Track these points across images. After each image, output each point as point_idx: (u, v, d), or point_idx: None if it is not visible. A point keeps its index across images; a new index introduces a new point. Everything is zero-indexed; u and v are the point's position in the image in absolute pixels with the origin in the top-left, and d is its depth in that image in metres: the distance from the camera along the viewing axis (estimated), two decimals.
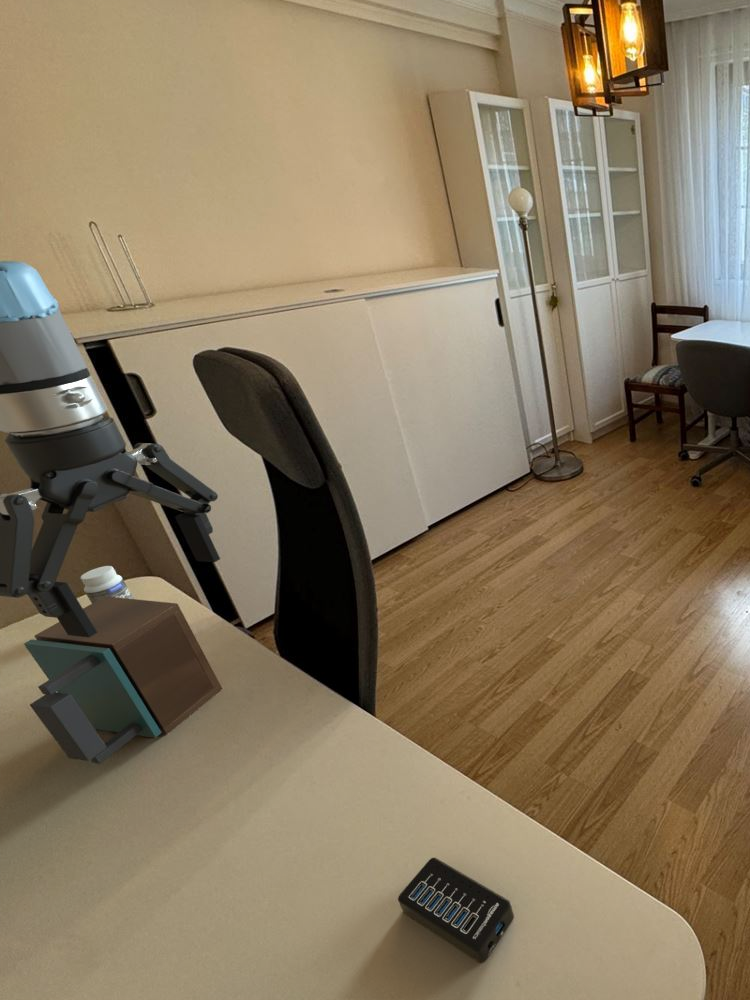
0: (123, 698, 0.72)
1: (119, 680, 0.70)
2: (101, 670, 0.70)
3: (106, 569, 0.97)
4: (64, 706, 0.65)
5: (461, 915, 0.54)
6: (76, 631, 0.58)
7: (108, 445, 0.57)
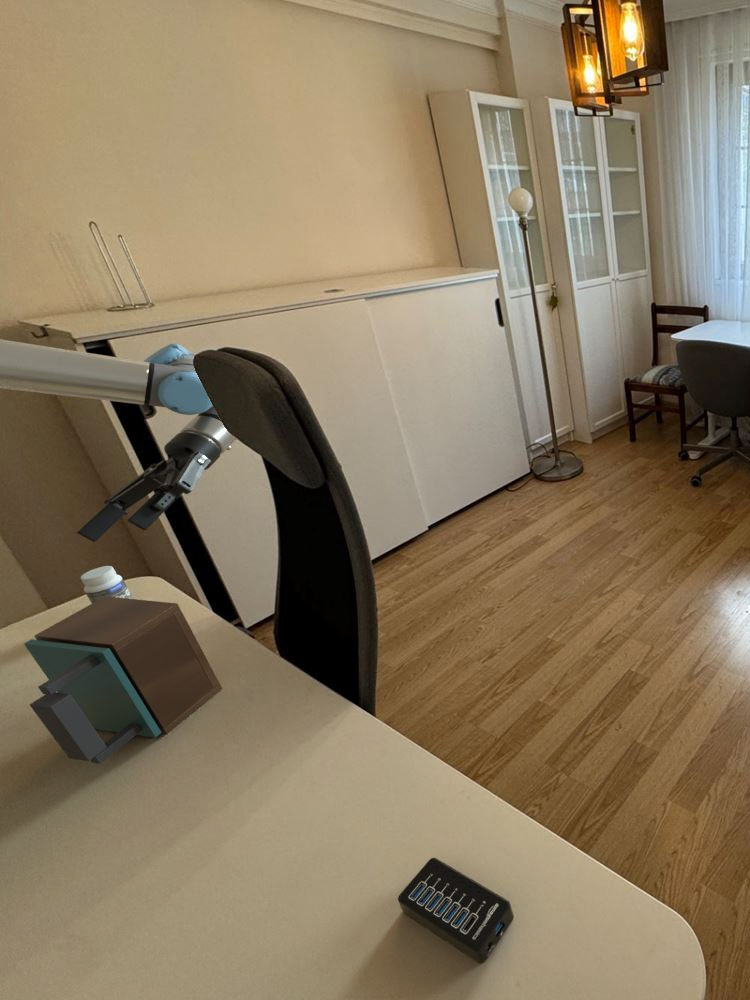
0: (123, 698, 0.72)
1: (119, 680, 0.70)
2: (101, 670, 0.70)
3: (106, 569, 0.97)
4: (64, 706, 0.65)
5: (461, 915, 0.54)
6: (142, 522, 0.93)
7: None
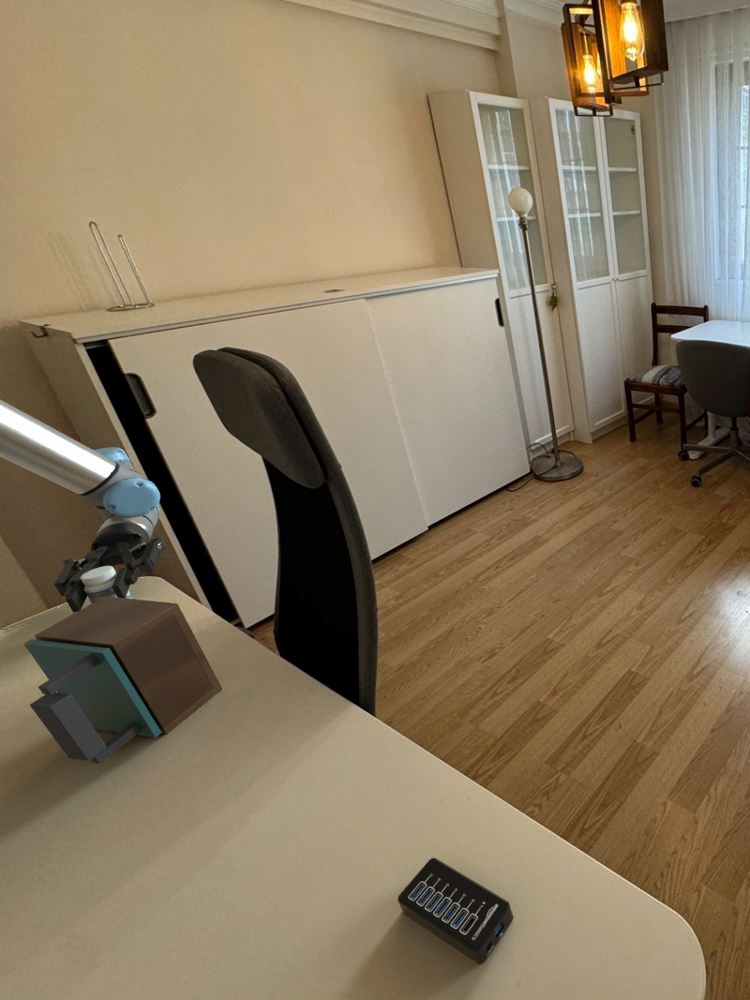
0: (123, 698, 0.72)
1: (119, 680, 0.70)
2: (101, 670, 0.70)
3: (106, 569, 0.97)
4: (64, 706, 0.65)
5: (460, 916, 0.54)
6: (122, 590, 0.95)
7: None
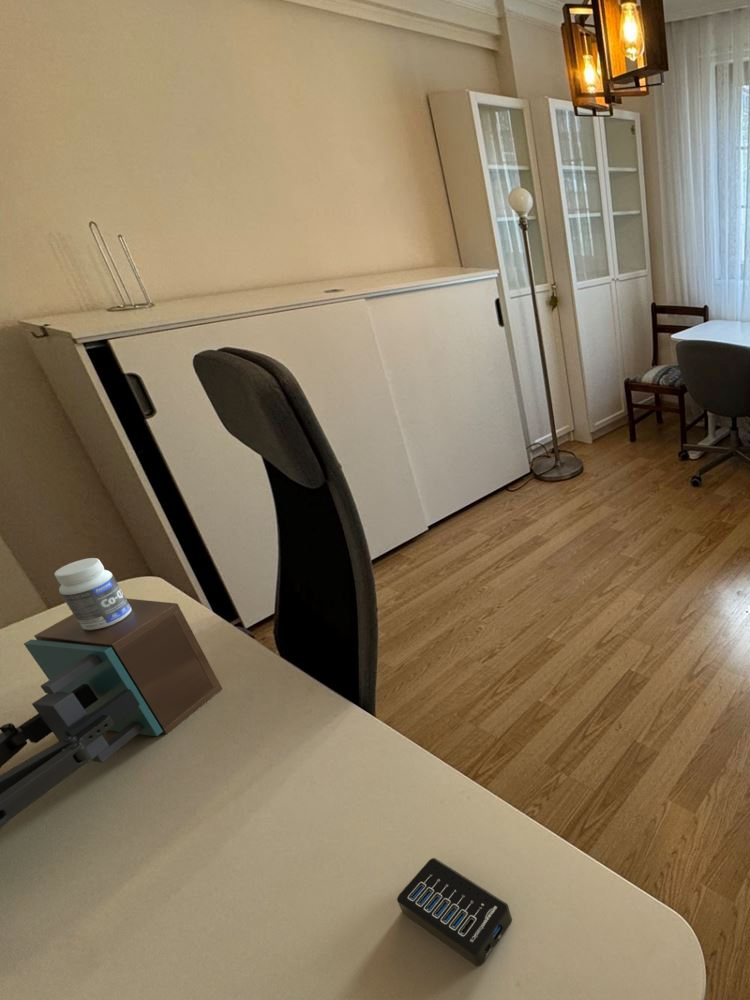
0: None
1: (121, 679, 0.70)
2: (103, 669, 0.70)
3: (90, 562, 0.71)
4: (67, 705, 0.65)
5: (459, 917, 0.54)
6: None
7: None
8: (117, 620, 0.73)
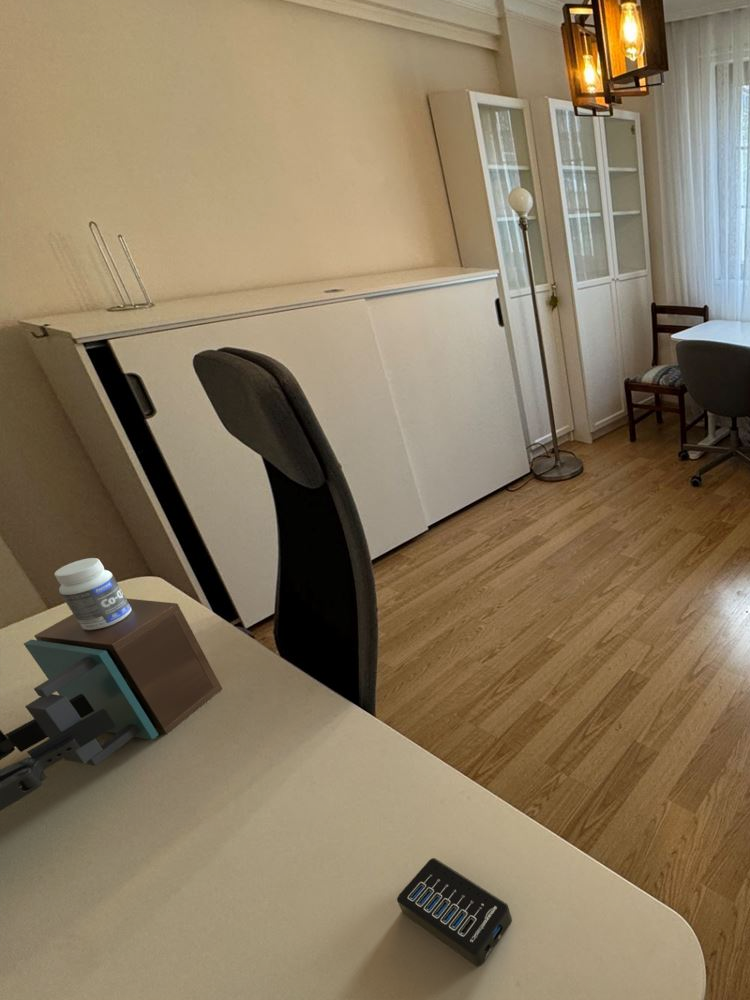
0: (120, 700, 0.71)
1: (116, 683, 0.70)
2: (98, 672, 0.69)
3: (90, 562, 0.71)
4: (59, 708, 0.65)
5: (459, 917, 0.54)
6: None
7: None
8: (117, 620, 0.73)
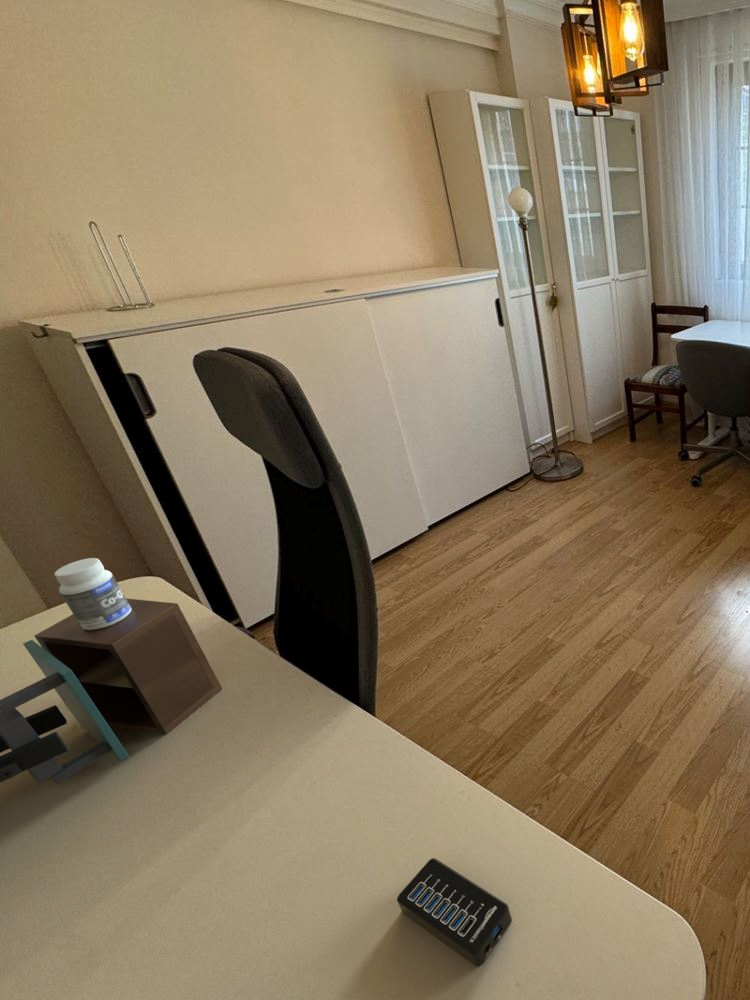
0: (90, 718, 0.69)
1: (81, 703, 0.67)
2: (68, 688, 0.67)
3: (90, 562, 0.71)
4: (14, 727, 0.63)
5: (459, 917, 0.54)
6: None
7: None
8: (117, 620, 0.73)
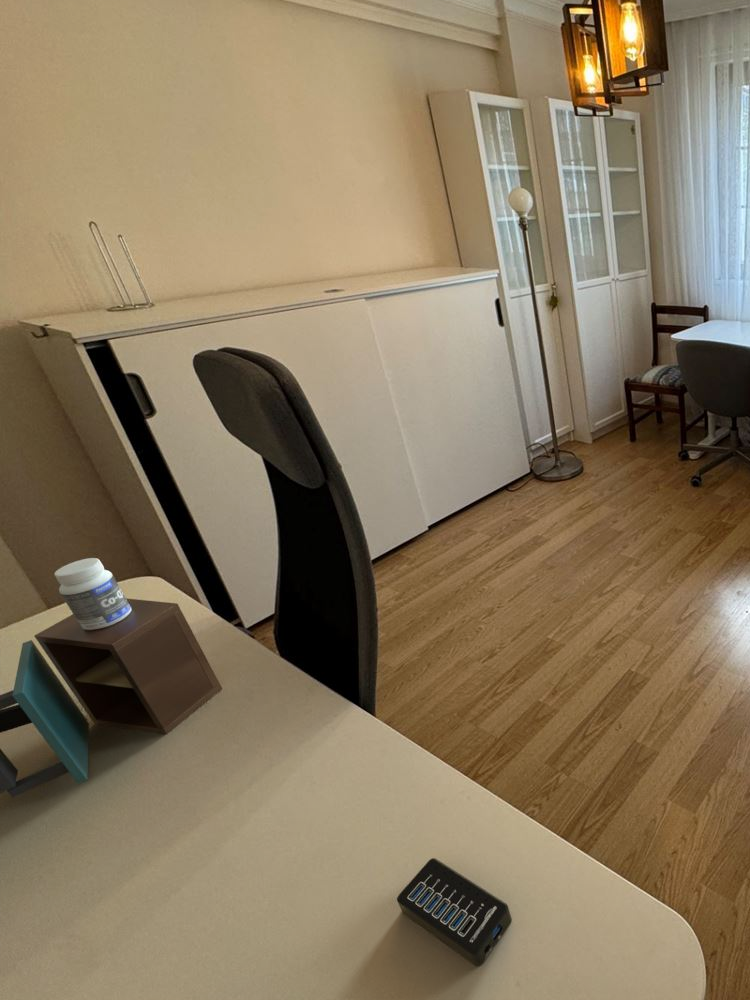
0: None
1: (34, 724, 0.64)
2: None
3: (90, 562, 0.71)
4: None
5: (459, 917, 0.54)
6: None
7: None
8: (117, 620, 0.73)
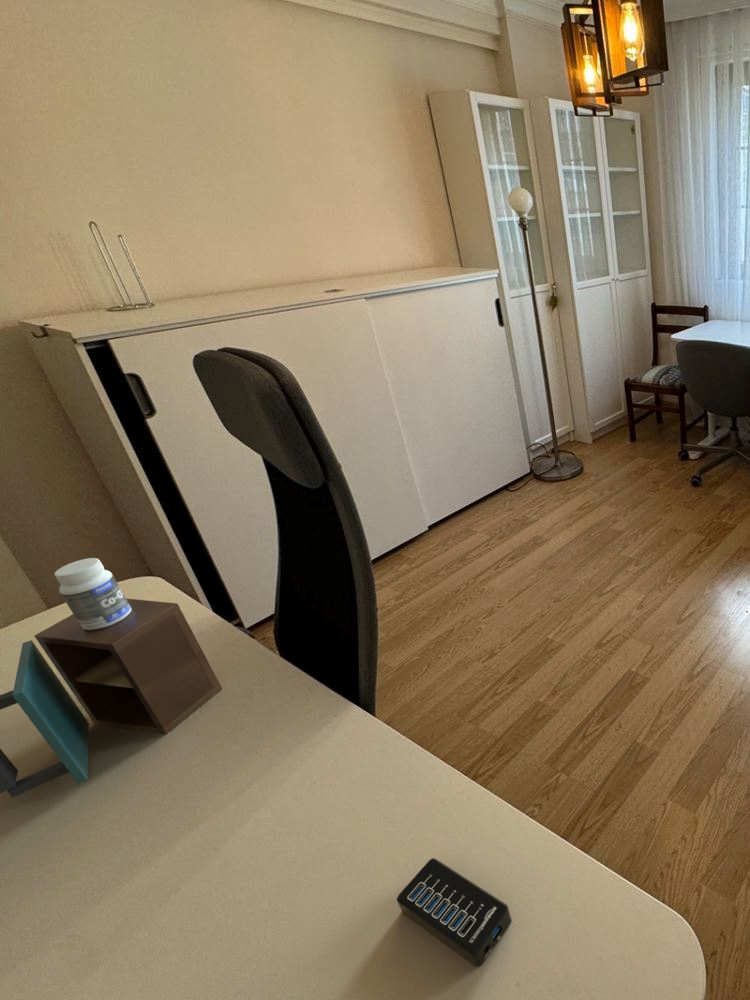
0: None
1: (34, 724, 0.64)
2: None
3: (90, 562, 0.71)
4: None
5: (459, 918, 0.54)
6: None
7: None
8: (117, 620, 0.73)
